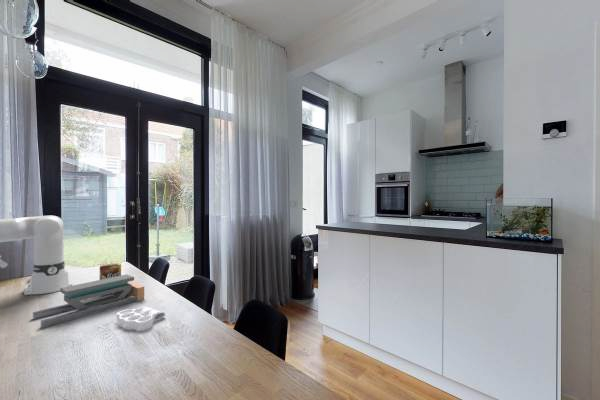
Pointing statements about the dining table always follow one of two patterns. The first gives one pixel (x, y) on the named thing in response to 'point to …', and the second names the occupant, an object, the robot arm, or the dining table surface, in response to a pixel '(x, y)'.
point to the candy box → (110, 270)
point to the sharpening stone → (97, 291)
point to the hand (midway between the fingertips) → (5, 266)
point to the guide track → (80, 312)
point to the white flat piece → (138, 318)
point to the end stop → (136, 290)
